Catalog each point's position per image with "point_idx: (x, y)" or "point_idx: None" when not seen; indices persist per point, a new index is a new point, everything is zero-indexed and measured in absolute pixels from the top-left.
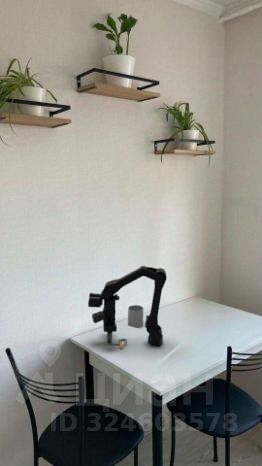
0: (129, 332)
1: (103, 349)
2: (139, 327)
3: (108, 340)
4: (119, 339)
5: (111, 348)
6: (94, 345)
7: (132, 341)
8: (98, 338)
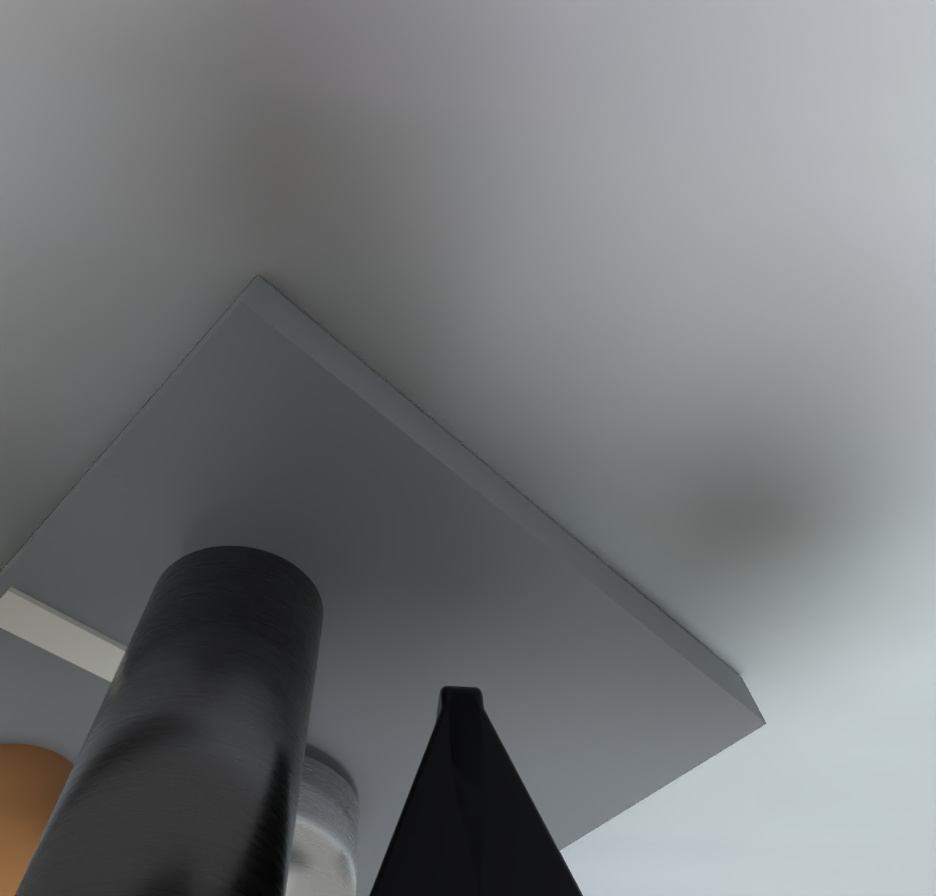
0: (857, 864)
1: (128, 341)
2: None
3: (118, 672)
4: (299, 876)
5: None
6: (449, 51)
7: None
8: (915, 266)
